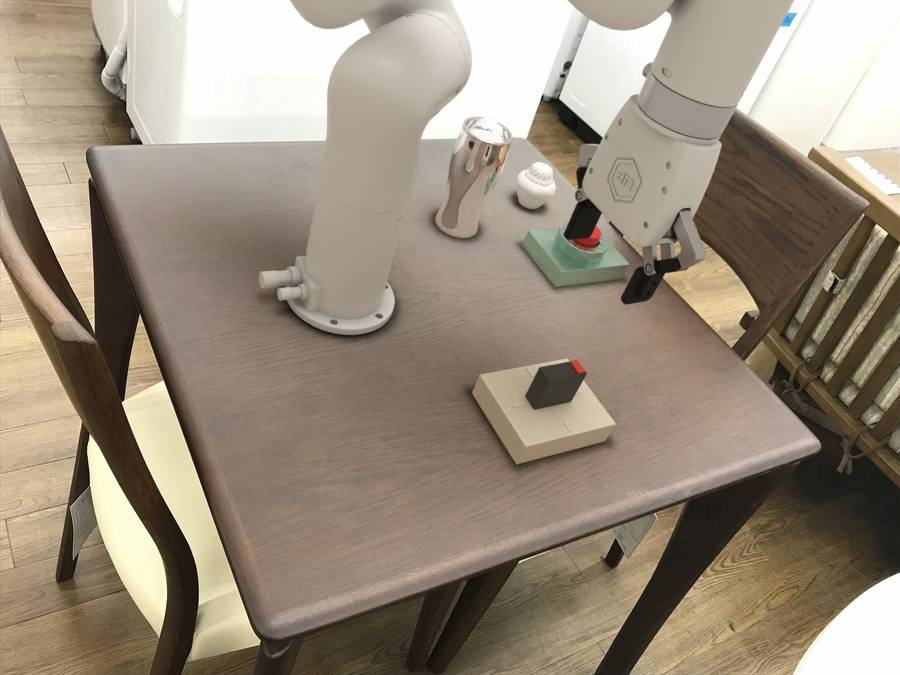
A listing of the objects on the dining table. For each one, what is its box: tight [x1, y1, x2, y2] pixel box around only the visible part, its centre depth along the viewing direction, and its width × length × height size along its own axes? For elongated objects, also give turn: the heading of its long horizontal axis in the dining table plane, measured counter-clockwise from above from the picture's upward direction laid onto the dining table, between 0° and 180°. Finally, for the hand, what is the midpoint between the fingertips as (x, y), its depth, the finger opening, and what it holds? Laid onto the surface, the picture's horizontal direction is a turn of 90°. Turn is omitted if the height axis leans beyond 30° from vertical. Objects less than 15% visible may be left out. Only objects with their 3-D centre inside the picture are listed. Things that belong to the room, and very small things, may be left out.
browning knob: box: [525, 359, 588, 410], centre depth 80 cm, size 5×2×5 cm, turn 117°
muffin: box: [515, 161, 557, 210], centre depth 114 cm, size 6×6×7 cm
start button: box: [573, 225, 602, 248], centre depth 105 cm, size 4×4×2 cm
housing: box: [521, 221, 630, 288], centre depth 107 cm, size 12×9×4 cm
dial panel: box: [471, 358, 617, 465], centre depth 83 cm, size 12×10×3 cm
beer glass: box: [434, 116, 513, 239], centre depth 102 cm, size 7×7×15 cm
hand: (604, 267), depth 74 cm, fingers open, 9 cm apart
